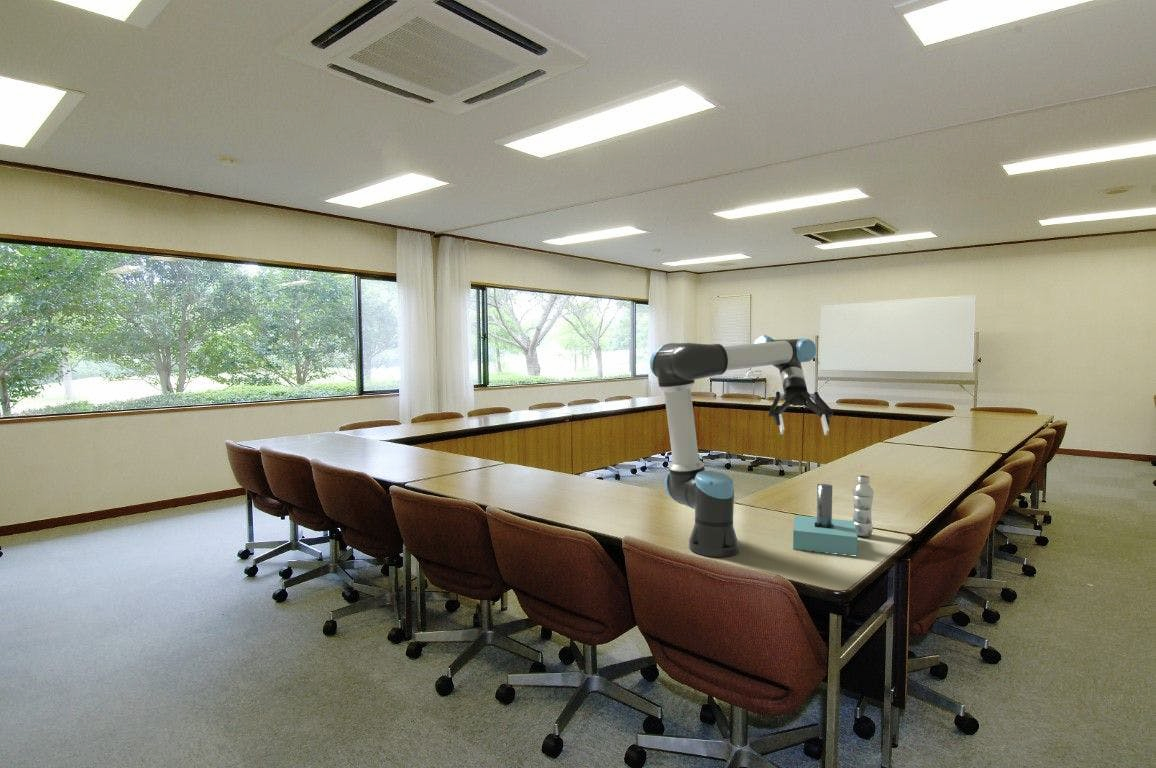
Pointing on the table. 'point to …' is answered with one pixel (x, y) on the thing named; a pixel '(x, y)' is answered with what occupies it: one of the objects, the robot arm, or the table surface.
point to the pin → (824, 506)
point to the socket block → (825, 536)
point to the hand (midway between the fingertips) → (804, 432)
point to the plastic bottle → (863, 506)
